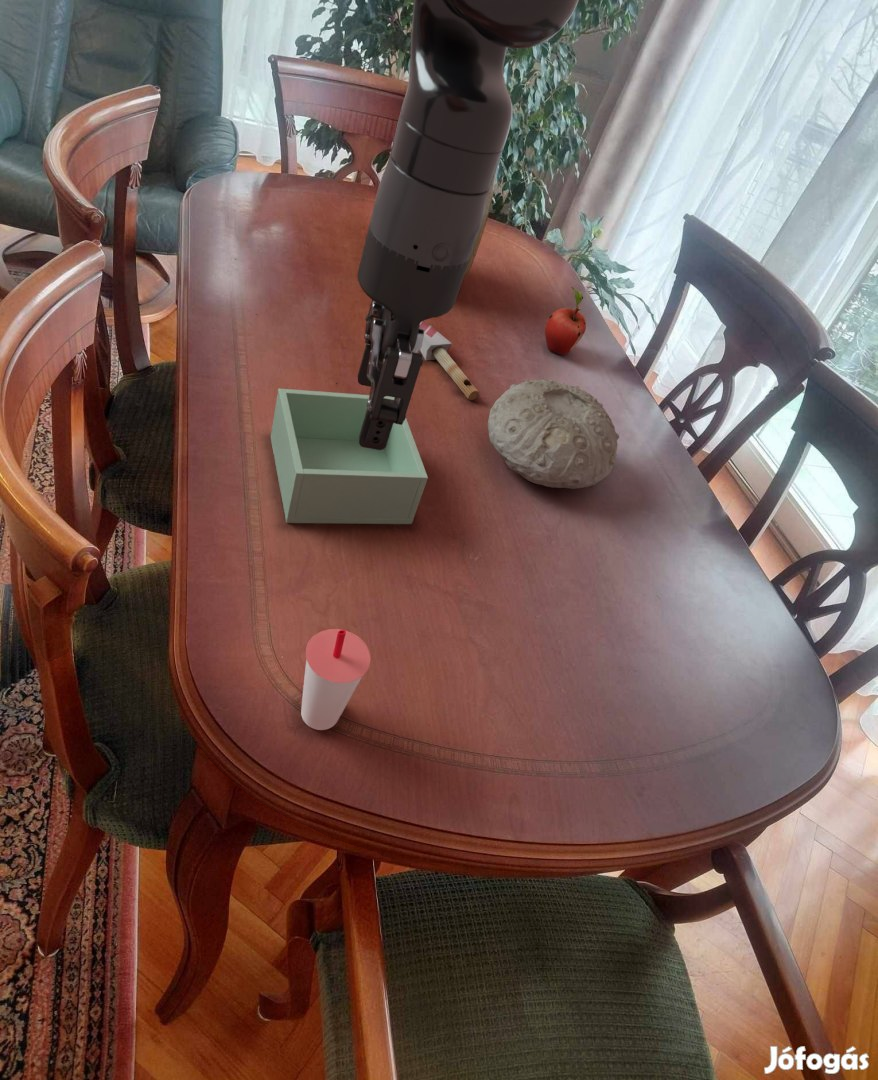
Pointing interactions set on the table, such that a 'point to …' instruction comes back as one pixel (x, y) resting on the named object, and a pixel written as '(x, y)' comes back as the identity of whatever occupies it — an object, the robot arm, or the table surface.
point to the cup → (331, 675)
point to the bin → (342, 462)
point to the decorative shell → (553, 434)
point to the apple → (565, 328)
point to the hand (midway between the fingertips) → (369, 413)
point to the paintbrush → (445, 359)
